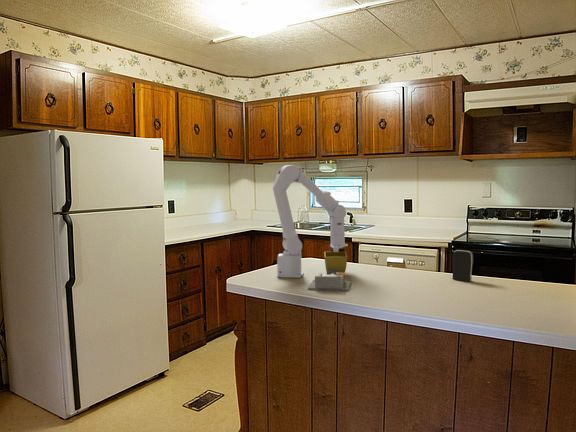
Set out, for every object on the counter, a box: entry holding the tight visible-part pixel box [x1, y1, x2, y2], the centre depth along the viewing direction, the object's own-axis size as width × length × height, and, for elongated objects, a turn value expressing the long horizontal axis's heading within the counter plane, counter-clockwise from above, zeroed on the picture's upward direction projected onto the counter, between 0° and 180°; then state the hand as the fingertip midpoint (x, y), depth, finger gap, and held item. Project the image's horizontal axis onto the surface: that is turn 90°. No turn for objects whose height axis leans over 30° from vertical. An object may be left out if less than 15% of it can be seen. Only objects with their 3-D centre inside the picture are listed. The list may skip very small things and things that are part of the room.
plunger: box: [322, 269, 347, 277], centre depth 167 cm, size 8×10×4 cm
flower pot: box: [323, 251, 348, 275], centre depth 177 cm, size 9×9×9 cm
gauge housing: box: [307, 272, 352, 293], centre depth 161 cm, size 14×12×5 cm
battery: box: [452, 249, 474, 282], centre depth 169 cm, size 7×4×11 cm, turn 50°
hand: (338, 266), depth 184 cm, fingers closed
